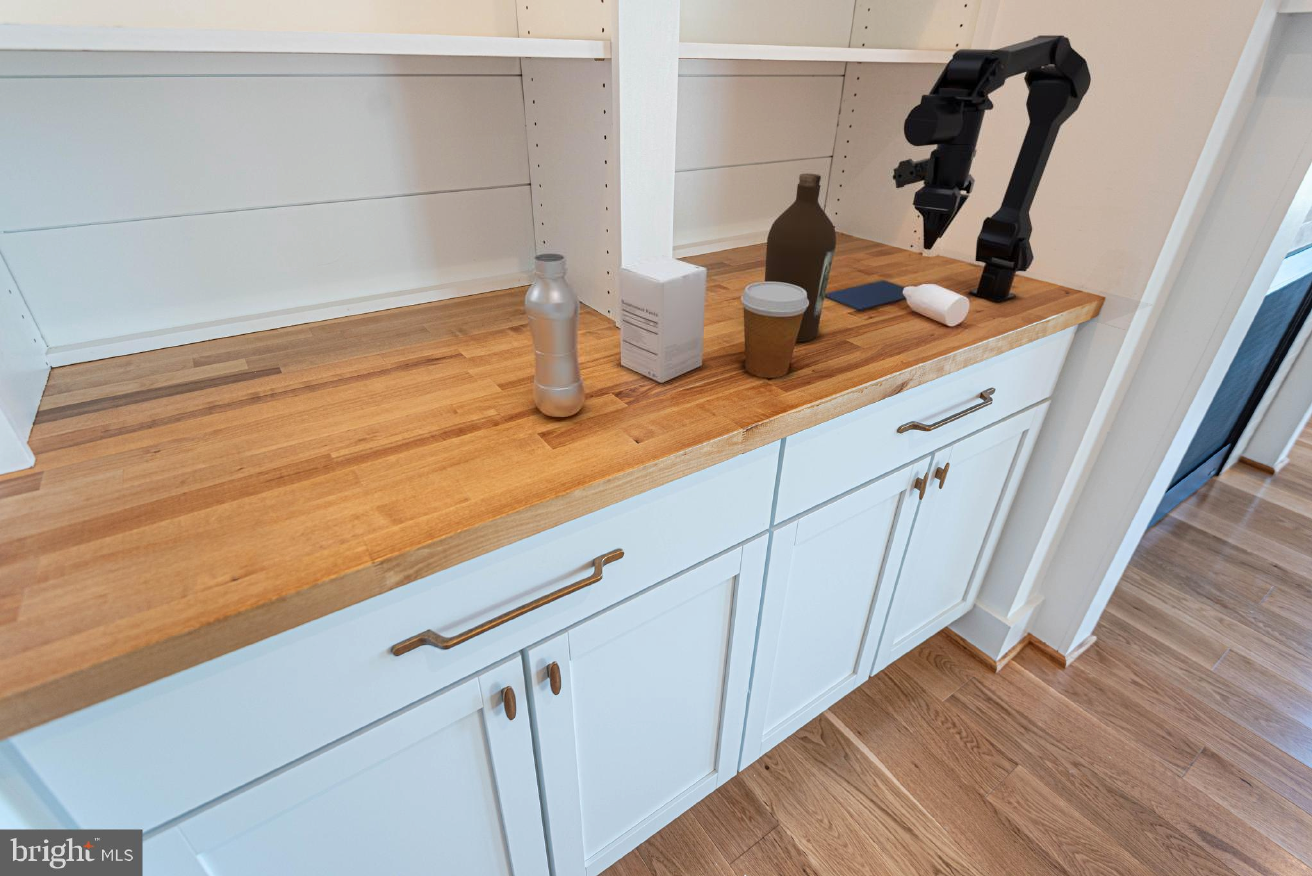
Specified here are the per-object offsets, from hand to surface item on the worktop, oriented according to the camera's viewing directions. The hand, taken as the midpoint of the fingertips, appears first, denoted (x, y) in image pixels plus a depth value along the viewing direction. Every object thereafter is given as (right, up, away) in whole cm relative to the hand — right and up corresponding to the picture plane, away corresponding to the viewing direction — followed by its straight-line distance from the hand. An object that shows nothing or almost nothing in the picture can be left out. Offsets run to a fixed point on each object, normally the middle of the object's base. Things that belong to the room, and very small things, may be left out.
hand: (932, 243), depth 108 cm
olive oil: (-24, -15, 0) cm, 29 cm away
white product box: (-46, -22, -12) cm, 53 cm away
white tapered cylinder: (+3, -11, +8) cm, 14 cm away
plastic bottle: (-60, -30, -25) cm, 71 cm away
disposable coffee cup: (-31, -23, -13) cm, 40 cm away
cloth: (-4, -5, +17) cm, 19 cm away
